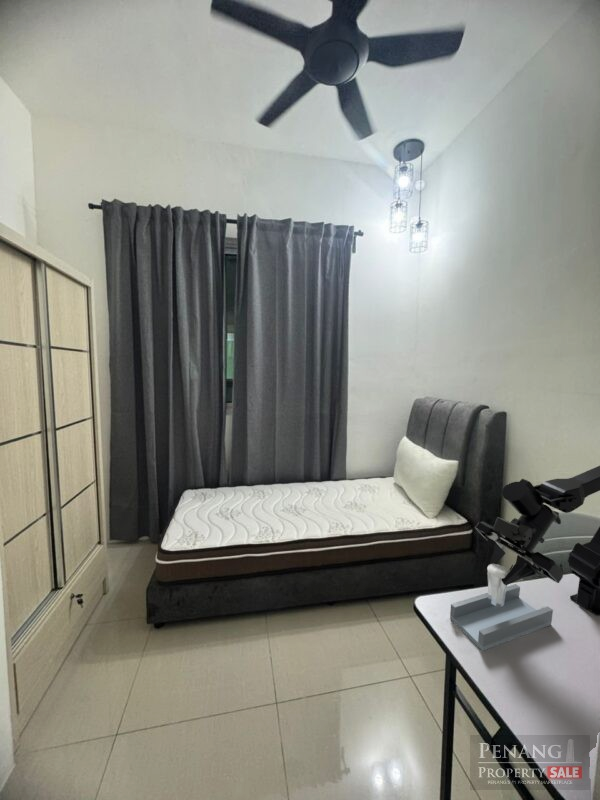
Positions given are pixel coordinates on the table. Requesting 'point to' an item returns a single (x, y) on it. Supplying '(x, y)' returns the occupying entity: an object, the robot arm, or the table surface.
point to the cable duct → (498, 618)
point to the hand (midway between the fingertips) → (494, 577)
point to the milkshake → (496, 584)
